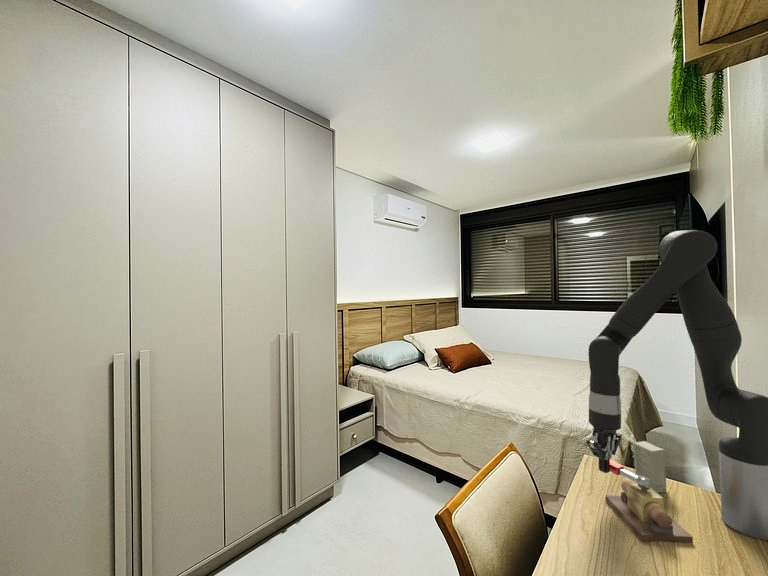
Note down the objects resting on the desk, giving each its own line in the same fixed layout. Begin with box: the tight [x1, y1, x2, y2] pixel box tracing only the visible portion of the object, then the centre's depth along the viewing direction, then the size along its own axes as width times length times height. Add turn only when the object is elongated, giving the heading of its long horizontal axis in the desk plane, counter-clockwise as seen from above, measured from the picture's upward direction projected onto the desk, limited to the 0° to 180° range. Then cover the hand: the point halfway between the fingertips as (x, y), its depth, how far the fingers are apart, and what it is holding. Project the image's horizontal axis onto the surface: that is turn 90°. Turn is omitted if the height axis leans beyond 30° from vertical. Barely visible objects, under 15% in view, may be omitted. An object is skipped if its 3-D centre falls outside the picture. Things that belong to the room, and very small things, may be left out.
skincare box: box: [633, 440, 668, 494], centre depth 99 cm, size 6×4×12 cm
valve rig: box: [605, 479, 694, 544], centre depth 85 cm, size 15×11×8 cm
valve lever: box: [609, 459, 651, 490], centre depth 89 cm, size 11×3×2 cm, turn 18°
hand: (604, 471), depth 92 cm, fingers closed
